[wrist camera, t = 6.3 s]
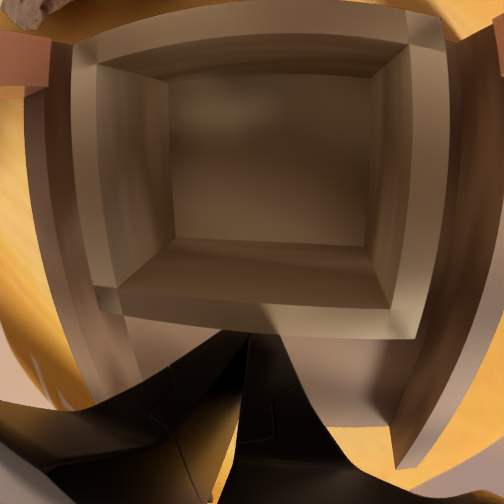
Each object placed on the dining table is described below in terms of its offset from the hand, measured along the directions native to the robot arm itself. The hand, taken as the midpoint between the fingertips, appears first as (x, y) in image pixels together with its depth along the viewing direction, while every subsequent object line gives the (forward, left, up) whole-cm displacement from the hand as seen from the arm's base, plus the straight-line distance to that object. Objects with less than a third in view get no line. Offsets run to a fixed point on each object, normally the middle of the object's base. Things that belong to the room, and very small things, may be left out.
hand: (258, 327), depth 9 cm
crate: (+5, 0, -3) cm, 5 cm away
